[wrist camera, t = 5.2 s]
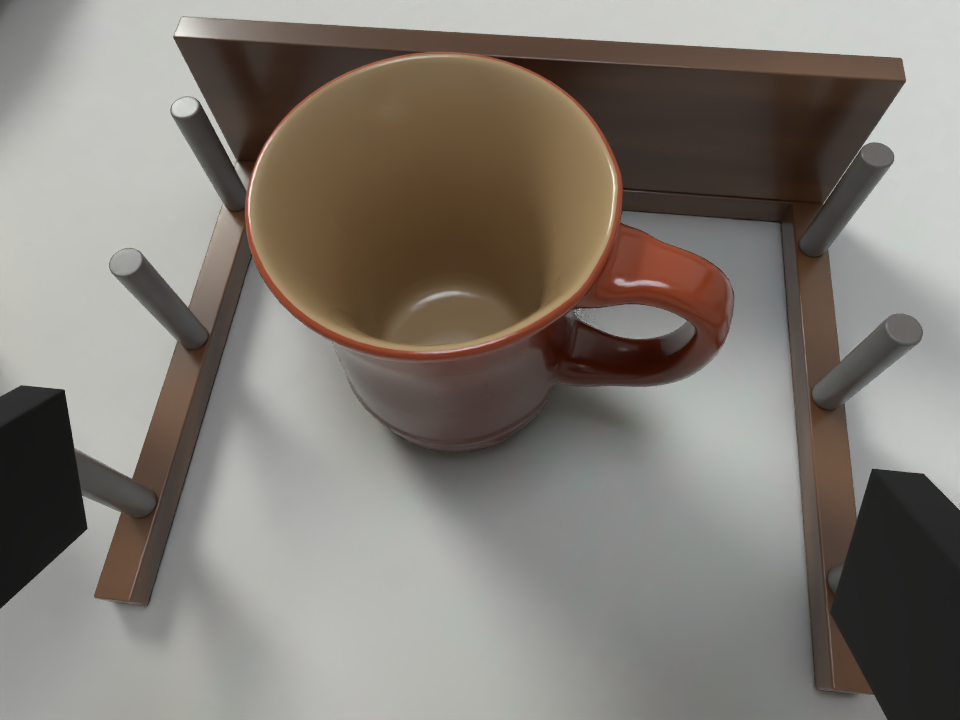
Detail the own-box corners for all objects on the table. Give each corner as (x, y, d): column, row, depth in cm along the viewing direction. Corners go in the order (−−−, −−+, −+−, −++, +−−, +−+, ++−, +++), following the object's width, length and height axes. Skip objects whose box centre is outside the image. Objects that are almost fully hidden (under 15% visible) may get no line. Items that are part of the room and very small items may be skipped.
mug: (298, 437, 24) (173, 289, 15) (393, 239, 28) (338, 19, 19) (631, 552, 23) (723, 464, 13) (690, 324, 26) (796, 126, 17)
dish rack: (857, 694, 21) (1021, 702, 14) (112, 601, 22) (-50, 570, 16) (809, 200, 28) (902, 54, 22) (252, 159, 30) (182, 13, 23)
